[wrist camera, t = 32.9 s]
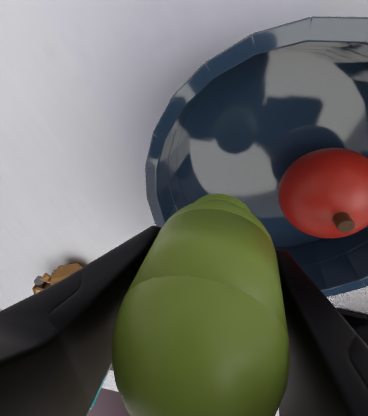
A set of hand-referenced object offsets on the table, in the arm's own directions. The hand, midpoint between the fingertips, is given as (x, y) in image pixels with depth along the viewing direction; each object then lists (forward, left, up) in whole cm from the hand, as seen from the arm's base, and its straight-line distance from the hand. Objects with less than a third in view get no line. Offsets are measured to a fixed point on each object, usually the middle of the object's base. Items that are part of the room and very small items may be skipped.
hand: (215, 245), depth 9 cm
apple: (-5, 0, -9) cm, 10 cm away
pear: (0, 0, -2) cm, 2 cm away
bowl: (-3, 0, -9) cm, 10 cm away
